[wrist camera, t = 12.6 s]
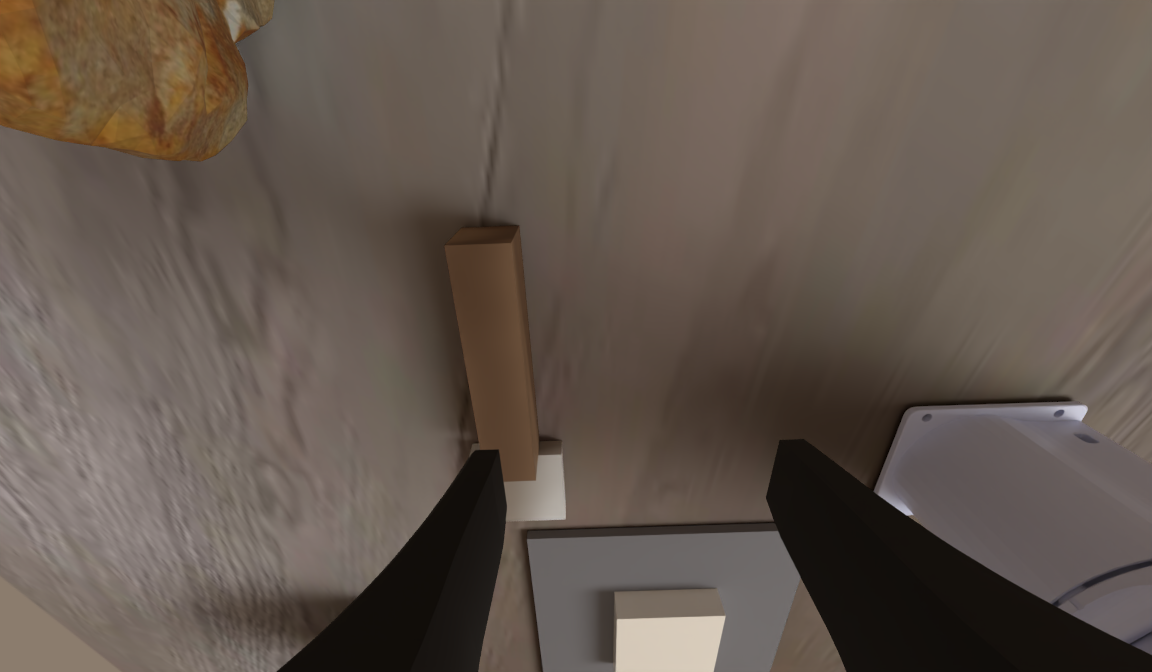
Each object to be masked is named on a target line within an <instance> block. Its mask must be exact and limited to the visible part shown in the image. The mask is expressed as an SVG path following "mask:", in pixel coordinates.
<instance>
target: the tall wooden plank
mask: <svg viewBox="0 0 1152 672" xmlns="http://www.w3.org/2000/svg"><path fill="white" fill-rule="evenodd" d="M444 248H445V253H446V259H447V265H448V270H449V276H450V282H451V287H452V293H453V299H454V304H455V310H456V316H457V321H458V327H459V333H460V338H461V344H462V350H463V355H464V361H465V367H466V372H467V378H468V384H469V389H470V395H471V401H472V406H473V412H474V418H475V423H476V429H477V435H478V441H479V444H472V448H471V451H470V454H469V457H470V455H471V454H472V453H473V452H474V451H475V450H494V449H499V454H500V460H501V467H502V474H503V481H504V488H505V495H506V502H507V513H506V521H535V520H563V519H566V499H565V483H564V467H563V451H562V441H539V430H538V420H537V409H536V398H535V388H534V377H533V366H532V356H531V345H530V334H529V323H528V313H527V302H526V291H525V281H524V270H523V259H522V249H521V238H520V227H519V226H493V227H466V228H461V229H460V230H459V231H458V232H457V233H456V234H455V235H454V236H453V237H452V238H451V239H450V240H449V241H448V242H447V243H446V244H445V245H444Z"/></svg>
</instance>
